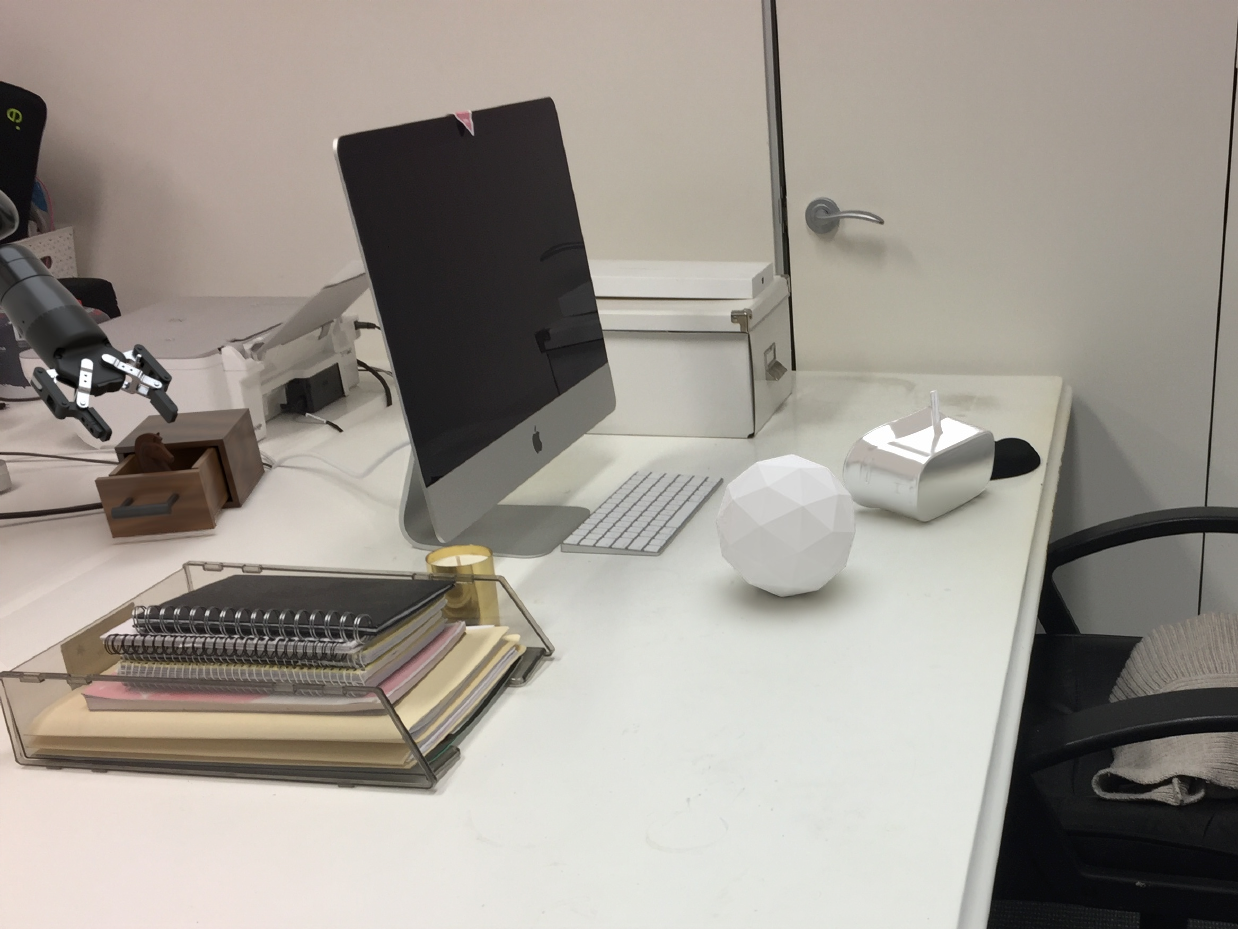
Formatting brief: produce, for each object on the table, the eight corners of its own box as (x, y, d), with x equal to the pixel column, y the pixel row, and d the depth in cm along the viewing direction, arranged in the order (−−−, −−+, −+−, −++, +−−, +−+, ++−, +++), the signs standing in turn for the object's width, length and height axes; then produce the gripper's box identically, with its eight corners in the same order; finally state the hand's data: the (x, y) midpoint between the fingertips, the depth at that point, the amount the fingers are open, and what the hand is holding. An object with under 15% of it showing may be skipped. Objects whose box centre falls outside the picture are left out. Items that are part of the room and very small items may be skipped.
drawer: (203, 545, 146) (186, 486, 143) (97, 555, 144) (78, 495, 141) (240, 492, 162) (225, 438, 159) (145, 501, 160) (129, 446, 157)
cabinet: (241, 507, 160) (222, 438, 156) (135, 516, 158) (114, 447, 154) (265, 471, 173) (248, 407, 169) (167, 480, 171) (148, 415, 166)
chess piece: (175, 519, 151) (152, 439, 146) (140, 516, 152) (116, 437, 147) (201, 506, 155) (179, 428, 150) (167, 503, 156) (144, 426, 151)
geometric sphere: (821, 619, 138) (899, 510, 134) (772, 629, 124) (858, 507, 120) (725, 541, 140) (799, 432, 137) (666, 543, 126) (748, 421, 122)
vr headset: (927, 473, 166) (928, 365, 159) (1000, 490, 159) (1003, 378, 153) (842, 512, 153) (838, 397, 147) (917, 532, 147) (916, 412, 140)
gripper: (0, 315, 142) (92, 424, 142) (117, 293, 153) (202, 394, 153) (-11, 357, 147) (78, 463, 147) (104, 332, 158) (186, 431, 158)
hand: (141, 428), depth 150 cm, fingers open, 8 cm apart
